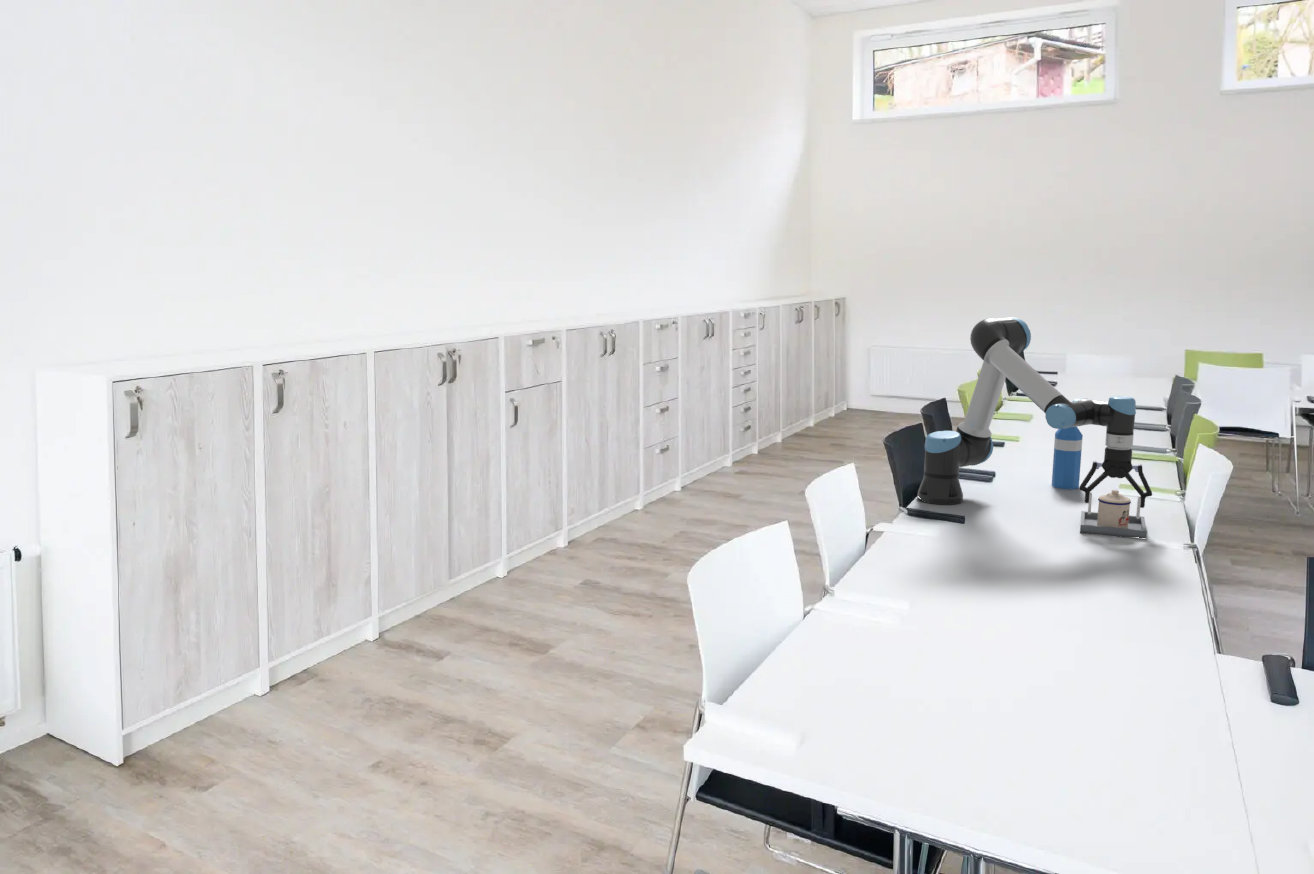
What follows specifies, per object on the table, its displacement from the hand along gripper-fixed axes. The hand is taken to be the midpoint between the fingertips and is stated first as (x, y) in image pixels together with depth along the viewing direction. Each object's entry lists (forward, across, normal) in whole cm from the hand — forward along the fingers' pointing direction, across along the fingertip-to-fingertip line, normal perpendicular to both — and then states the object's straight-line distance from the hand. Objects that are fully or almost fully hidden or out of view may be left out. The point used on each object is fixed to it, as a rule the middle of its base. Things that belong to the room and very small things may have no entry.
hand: (1113, 515), depth 300 cm
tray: (+4, 0, 0) cm, 4 cm away
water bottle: (+4, -15, +57) cm, 59 cm away
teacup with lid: (+4, 0, 0) cm, 4 cm away
